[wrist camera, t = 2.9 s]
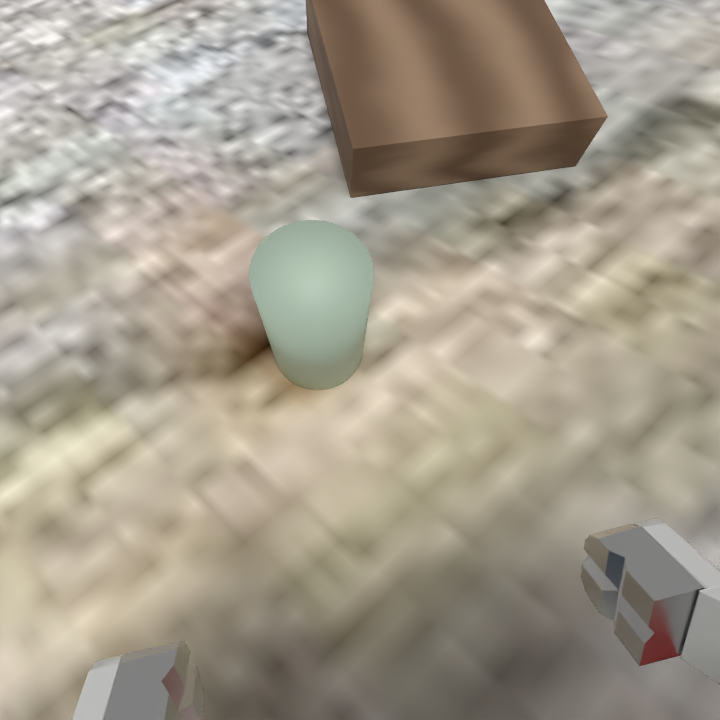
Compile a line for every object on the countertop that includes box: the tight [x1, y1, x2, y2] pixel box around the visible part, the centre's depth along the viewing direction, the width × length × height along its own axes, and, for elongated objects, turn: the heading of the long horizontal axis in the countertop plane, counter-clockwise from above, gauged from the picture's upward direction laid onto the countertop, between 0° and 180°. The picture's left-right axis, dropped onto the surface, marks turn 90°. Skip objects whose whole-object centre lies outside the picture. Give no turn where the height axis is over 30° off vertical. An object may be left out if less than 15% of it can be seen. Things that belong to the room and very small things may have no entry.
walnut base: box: [306, 0, 608, 197], centre depth 31 cm, size 16×16×4 cm
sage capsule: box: [249, 220, 374, 390], centre depth 22 cm, size 5×5×8 cm
